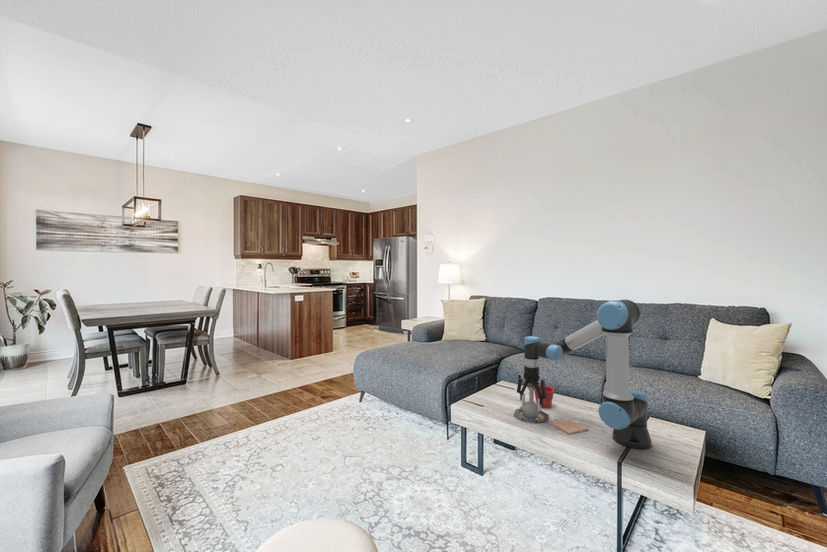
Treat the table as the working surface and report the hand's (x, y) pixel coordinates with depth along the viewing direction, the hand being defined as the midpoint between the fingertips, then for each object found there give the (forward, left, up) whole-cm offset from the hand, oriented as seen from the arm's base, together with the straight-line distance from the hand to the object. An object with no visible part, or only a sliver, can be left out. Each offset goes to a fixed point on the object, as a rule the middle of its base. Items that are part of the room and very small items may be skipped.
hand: (531, 408), depth 187 cm
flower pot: (+10, -17, -4) cm, 20 cm away
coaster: (-17, -9, -4) cm, 20 cm away
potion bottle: (0, 0, -4) cm, 4 cm away
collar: (0, 0, -4) cm, 4 cm away
